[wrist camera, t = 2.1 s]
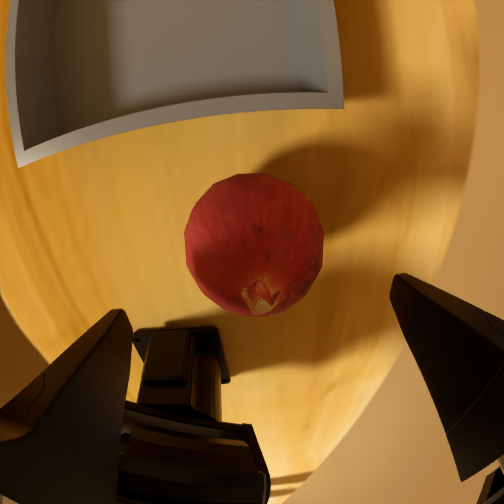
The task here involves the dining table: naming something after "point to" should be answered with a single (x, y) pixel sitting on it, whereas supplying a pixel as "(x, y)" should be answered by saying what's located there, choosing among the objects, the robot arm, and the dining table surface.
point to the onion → (254, 244)
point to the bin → (161, 65)
